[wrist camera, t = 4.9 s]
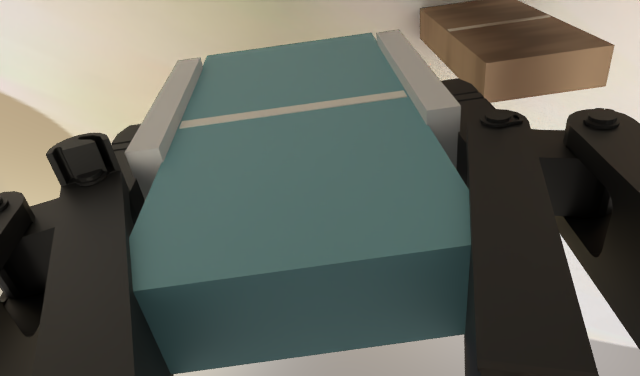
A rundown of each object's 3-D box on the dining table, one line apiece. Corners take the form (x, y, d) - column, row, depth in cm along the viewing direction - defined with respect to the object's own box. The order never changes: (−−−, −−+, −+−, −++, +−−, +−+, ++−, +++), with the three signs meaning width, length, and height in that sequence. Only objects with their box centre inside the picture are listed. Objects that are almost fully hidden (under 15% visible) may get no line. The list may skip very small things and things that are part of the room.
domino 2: (508, -5, 32) (614, 44, 22) (505, 26, 33) (605, 86, 23) (420, 8, 32) (486, 62, 22) (420, 38, 33) (483, 104, 23)
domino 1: (371, 31, 17) (500, 239, 7) (374, 86, 18) (490, 331, 8) (206, 54, 17) (104, 293, 7) (220, 107, 18) (146, 378, 8)
